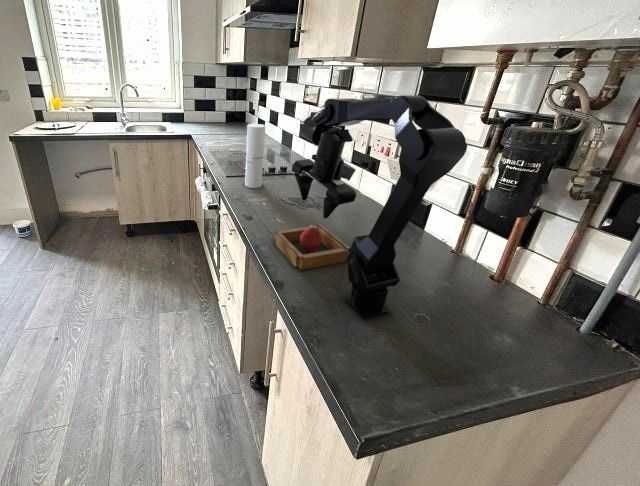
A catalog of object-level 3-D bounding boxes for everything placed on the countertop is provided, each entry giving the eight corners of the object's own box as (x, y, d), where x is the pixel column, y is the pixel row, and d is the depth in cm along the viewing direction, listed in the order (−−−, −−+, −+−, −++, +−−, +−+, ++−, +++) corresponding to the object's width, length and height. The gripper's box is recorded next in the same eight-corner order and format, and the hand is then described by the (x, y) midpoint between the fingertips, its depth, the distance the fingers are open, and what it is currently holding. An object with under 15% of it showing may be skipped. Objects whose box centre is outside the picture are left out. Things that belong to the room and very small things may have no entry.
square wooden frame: (348, 261, 86) (351, 247, 84) (298, 270, 81) (300, 256, 80) (317, 235, 99) (319, 223, 97) (273, 241, 94) (274, 229, 92)
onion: (322, 249, 91) (326, 224, 88) (315, 258, 87) (319, 232, 83) (302, 243, 94) (306, 219, 90) (295, 252, 89) (298, 227, 86)
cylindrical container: (261, 188, 135) (265, 127, 124) (244, 187, 135) (247, 126, 124) (261, 182, 141) (264, 124, 130) (245, 182, 141) (247, 123, 130)
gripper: (383, 166, 72) (362, 222, 81) (330, 136, 86) (317, 187, 95) (345, 172, 68) (327, 231, 77) (296, 140, 81) (285, 193, 90)
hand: (314, 208), depth 85 cm, fingers open, 9 cm apart
